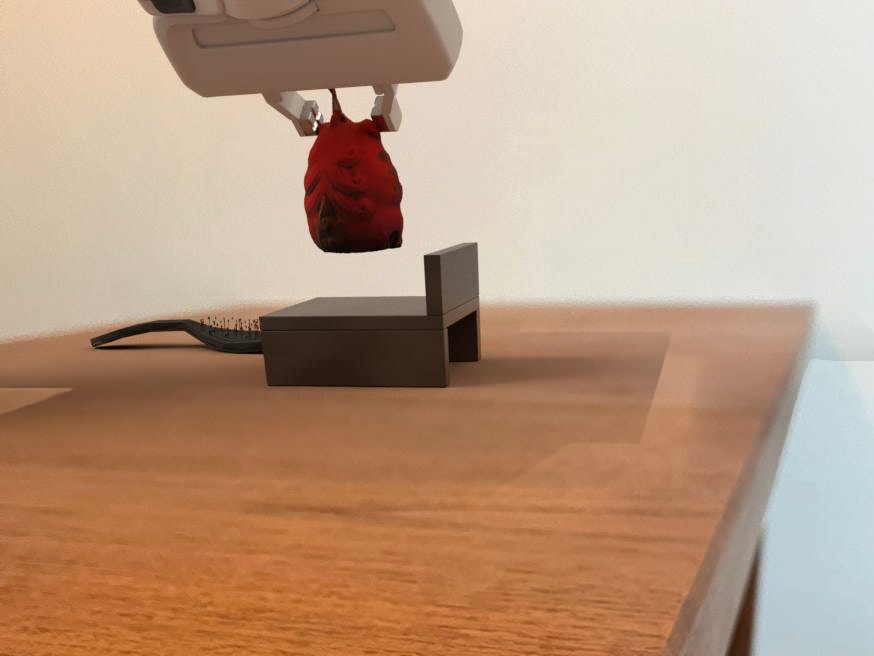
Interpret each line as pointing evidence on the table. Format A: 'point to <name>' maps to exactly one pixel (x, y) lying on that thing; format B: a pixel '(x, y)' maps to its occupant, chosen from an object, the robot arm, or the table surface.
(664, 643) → the table surface
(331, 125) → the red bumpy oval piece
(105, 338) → the hairbrush
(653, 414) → the table surface
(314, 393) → the table surface
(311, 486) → the table surface
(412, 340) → the brown miniature bench
